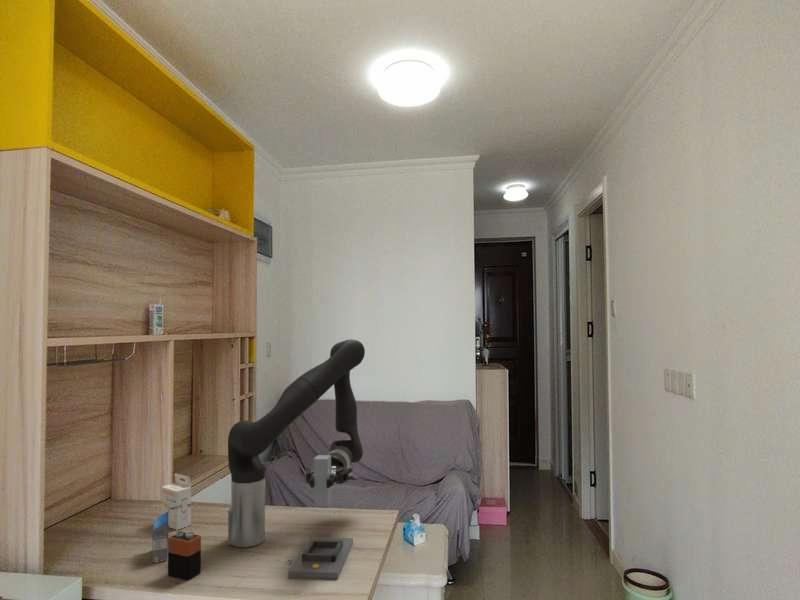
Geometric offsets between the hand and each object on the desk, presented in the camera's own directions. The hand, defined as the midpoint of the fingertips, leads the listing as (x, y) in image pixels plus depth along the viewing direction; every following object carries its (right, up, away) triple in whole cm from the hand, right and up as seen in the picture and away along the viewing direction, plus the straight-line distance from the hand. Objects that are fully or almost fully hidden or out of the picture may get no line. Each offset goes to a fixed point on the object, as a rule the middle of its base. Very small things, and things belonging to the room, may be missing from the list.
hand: (320, 483), depth 128 cm
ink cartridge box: (-48, -23, +26) cm, 59 cm away
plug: (0, -6, +2) cm, 7 cm away
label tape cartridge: (-43, -21, +6) cm, 49 cm away
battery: (-32, -20, -5) cm, 39 cm away
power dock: (0, -20, +2) cm, 20 cm away
